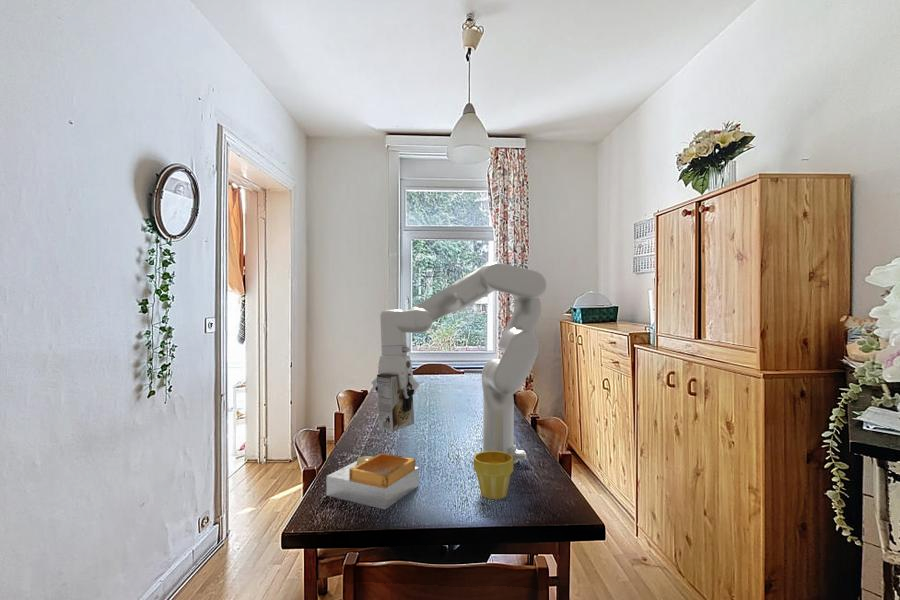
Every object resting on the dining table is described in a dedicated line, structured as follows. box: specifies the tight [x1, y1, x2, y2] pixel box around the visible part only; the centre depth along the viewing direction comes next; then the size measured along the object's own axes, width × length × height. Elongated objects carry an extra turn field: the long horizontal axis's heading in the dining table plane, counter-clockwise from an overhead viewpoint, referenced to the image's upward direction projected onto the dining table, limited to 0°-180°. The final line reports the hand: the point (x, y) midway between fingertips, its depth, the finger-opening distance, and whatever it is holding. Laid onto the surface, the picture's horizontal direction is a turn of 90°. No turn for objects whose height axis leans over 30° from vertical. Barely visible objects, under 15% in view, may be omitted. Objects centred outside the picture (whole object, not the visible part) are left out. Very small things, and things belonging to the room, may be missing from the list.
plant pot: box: [473, 451, 515, 500], centre depth 123 cm, size 10×10×10 cm
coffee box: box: [376, 374, 415, 432], centre depth 142 cm, size 9×6×16 cm
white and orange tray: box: [326, 452, 420, 510], centre depth 125 cm, size 18×16×8 cm
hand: (396, 409), depth 142 cm, fingers closed on coffee box, 7 cm apart
